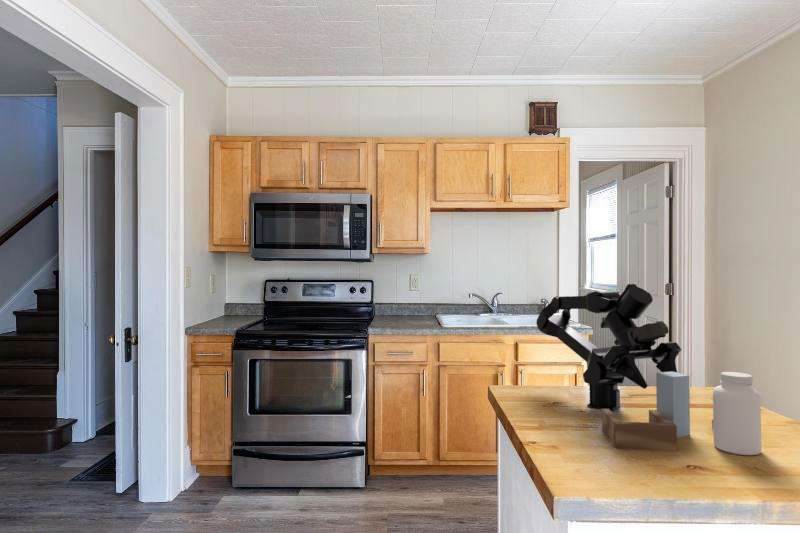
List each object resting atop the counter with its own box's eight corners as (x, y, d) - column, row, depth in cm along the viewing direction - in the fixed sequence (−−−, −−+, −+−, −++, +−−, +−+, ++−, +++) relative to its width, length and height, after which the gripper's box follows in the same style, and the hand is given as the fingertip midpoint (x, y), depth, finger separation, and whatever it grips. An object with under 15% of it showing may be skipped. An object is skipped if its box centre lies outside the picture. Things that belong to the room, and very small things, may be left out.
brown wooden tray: (601, 431, 110) (601, 408, 110) (656, 432, 109) (656, 410, 109) (616, 448, 100) (616, 423, 100) (677, 450, 98) (676, 425, 98)
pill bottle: (753, 444, 101) (752, 371, 101) (767, 458, 94) (767, 379, 94) (708, 440, 104) (707, 369, 104) (719, 454, 96) (718, 377, 97)
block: (656, 431, 110) (656, 372, 110) (672, 429, 111) (672, 371, 111) (673, 437, 106) (673, 377, 106) (690, 435, 107) (689, 375, 107)
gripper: (610, 311, 114) (648, 368, 103) (674, 308, 119) (716, 362, 109) (588, 341, 121) (621, 397, 110) (649, 337, 127) (686, 389, 116)
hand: (662, 385), depth 111 cm, fingers open, 9 cm apart
